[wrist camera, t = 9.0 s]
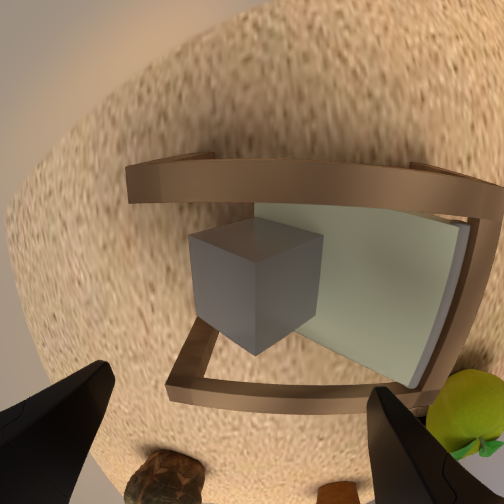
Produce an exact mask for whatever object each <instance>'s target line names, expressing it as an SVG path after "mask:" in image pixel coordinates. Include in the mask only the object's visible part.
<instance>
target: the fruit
mask: <svg viewBox="0 0 504 504" xmlns="http://www.w3.org/2000/svg"><path fill="white" fill-rule="evenodd" d="M426 429H427V430H428V431H429V432H430V433H431V434H432V435H433V436H434V437H435V438H436V439H437V440H438V441H439V442H440V444H441V445H442V446H443V447H444V448H445V449H446V450H447V452H449V453H450V454H451V455H452V456H453V457H454V458H455V459H456V460H457V461H458V460H459V459H463V458H464V457H466V456H469V455H472V454H475V453H477V452H478V451H479V455H480V456H482V457H489V456H491V455H492V454H493V453H494V452H495V451H496V450H497V449H498V448H500V447H501V446H502V445H503V444H504V442H501V441H495V440H496V439H498V438H499V437H500V435H501V434H502V432H503V431H504V381H503V380H502V379H500V378H499V377H497V376H495V375H493V374H490V373H487V372H484V371H481V370H476V369H466V370H462V371H459V372H457V373H455V374H453V375H451V376H450V377H449V378H448V379H447V380H446V382H445V384H444V386H443V387H442V389H441V391H440V393H439V395H438V396H437V398H436V400H435V401H434V403H433V405H429V408H428V412H427V417H426Z"/></svg>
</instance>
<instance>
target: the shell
mask: <svg viewBox="0 0 504 504" xmlns="http://www.w3.org/2000/svg"><path fill="white" fill-rule="evenodd" d="M204 481H205V474H204V470H203V468H202V465H201V464H200V463H199V462H198V461H197V460H194V459H191V458H189V457H186V456H183V455H181V454H178V453H175V452H171V451H160V452H153V453H152V454H151V455H150V456H149V457H148V459H147V460H146V462H145V463H144V464H143V465H141V467H140V468H139V470H137V471H136V472H135V474H133V475H132V476H131V478H130V480H129V482H128V483H127V486H126V489H125V492H124V501H125V504H201V503H202V498H201V491H202V488H203V485H204Z"/></svg>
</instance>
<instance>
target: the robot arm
mask: <svg viewBox="0 0 504 504" xmlns="http://www.w3.org/2000/svg"><path fill="white" fill-rule="evenodd" d="M114 385H115V376H114V374H113V371H112V369H111V366H110V364H109V363H108V362H107V361H103V360H97V361H95V362H93V363H91V364H89V365H88V366H86V367H84V368H82V369H80V370H79V371H77V372H75V373H73V374H71V375H70V376H68V377H66V378H64V379H62V380H60V381H59V382H57V383H55V384H53V385H51V386H50V387H48V388H46V389H44V390H42V391H40V392H39V393H37V394H35V395H33V396H31V397H29V398H27V399H26V400H24V401H22V402H20V403H18V404H16V405H14V406H12V407H10V408H8V409H6V410H3V411H1V412H0V504H69V501H70V498H71V495H72V492H73V490H74V487H75V485H76V482H77V479H78V477H79V474H80V472H81V469H82V467H83V464H84V462H85V459H86V457H87V454H88V452H89V450H90V447H91V445H92V443H93V440H94V438H95V436H96V433H97V431H98V429H99V427H100V424H101V422H102V420H103V417H104V415H105V412H106V409H107V406H108V403H109V400H110V397H111V393H112V391H113V388H114ZM366 409H367V429H368V449H369V457H370V463H371V471H372V478H373V486H374V495H375V504H504V498H503V497H501V496H499V495H496V494H495V493H494V492H492V491H491V490H490V489H489V488H487V487H486V486H485V485H484V484H482V483H481V482H480V481H479V480H478V479H476V478H475V477H474V476H473V475H472V474H470V473H469V472H468V471H467V470H465V468H464V467H463V466H461V464H460V463H459V462H458V461H457V460H456V459H455V458H454V457H453V456H452V455H451V454H450V453H449V452H447V450H446V449H445V448H444V447H443V446H442V445H441V444H440V442H439V441H438V440H437V439H436V438H435V437H434V436H433V435H432V434H431V433H430V432H429V431H428V430H427V429H426V417H425V418H419V419H417V418H416V417H415V416H414V415H413V414H412V413H411V412H410V411H409V409H408V408H407V407H406V406H405V405H404V404H403V403H402V402H401V401H400V400H399V399H398V398H397V397H396V396H395V395H394V394H393V393H392V391H391V390H390V389H389V388H388V387H387V386H375V387H374V388H373V389H372V391H371V394H370V396H369V399H368V401H367V407H366Z"/></svg>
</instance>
